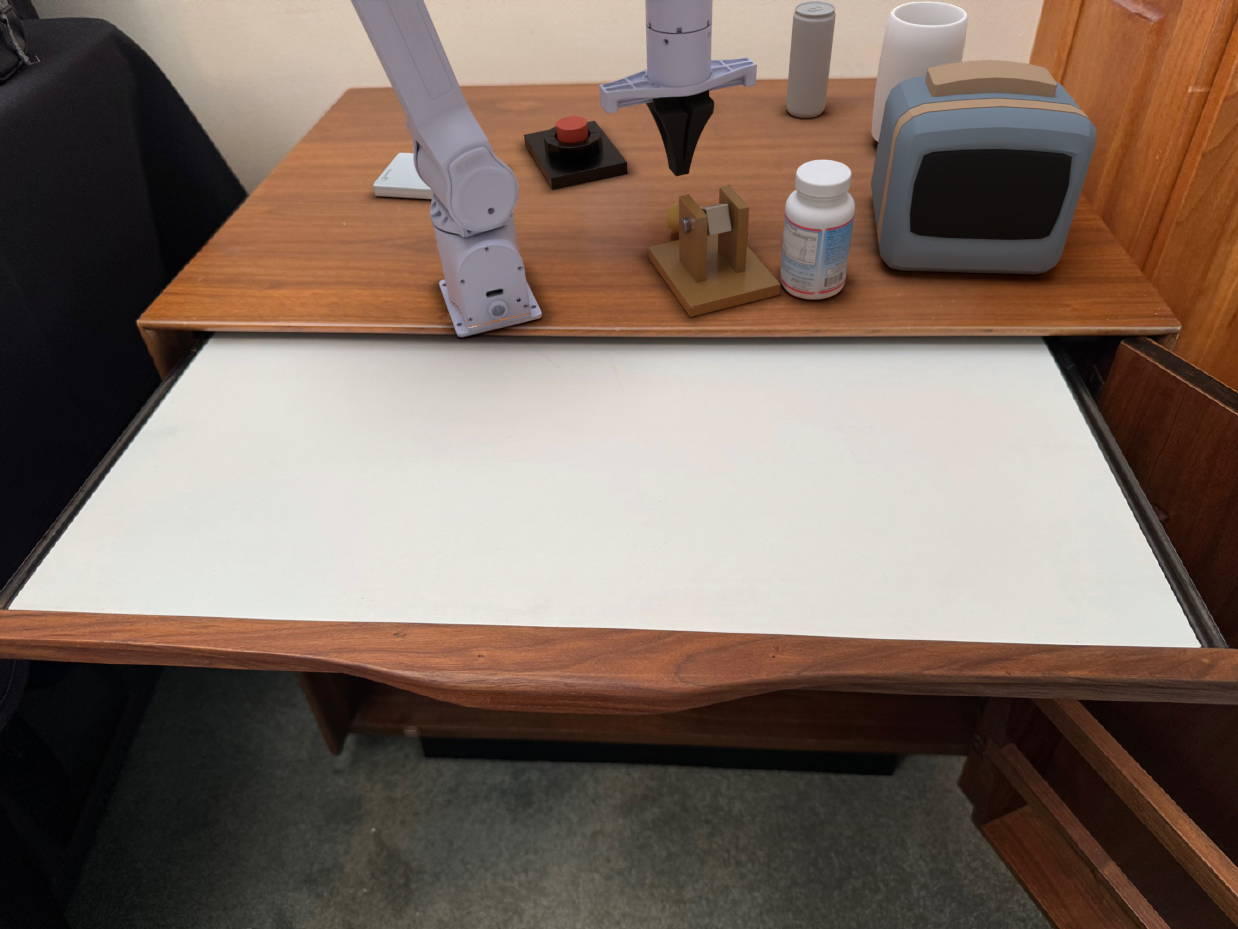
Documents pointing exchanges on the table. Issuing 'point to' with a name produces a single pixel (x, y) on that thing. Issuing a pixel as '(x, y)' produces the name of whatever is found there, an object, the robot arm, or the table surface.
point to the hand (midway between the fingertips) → (678, 170)
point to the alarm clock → (979, 169)
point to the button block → (575, 157)
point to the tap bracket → (713, 260)
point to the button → (572, 129)
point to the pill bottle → (817, 230)
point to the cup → (917, 47)
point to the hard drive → (401, 180)
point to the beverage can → (810, 58)
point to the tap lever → (716, 218)
